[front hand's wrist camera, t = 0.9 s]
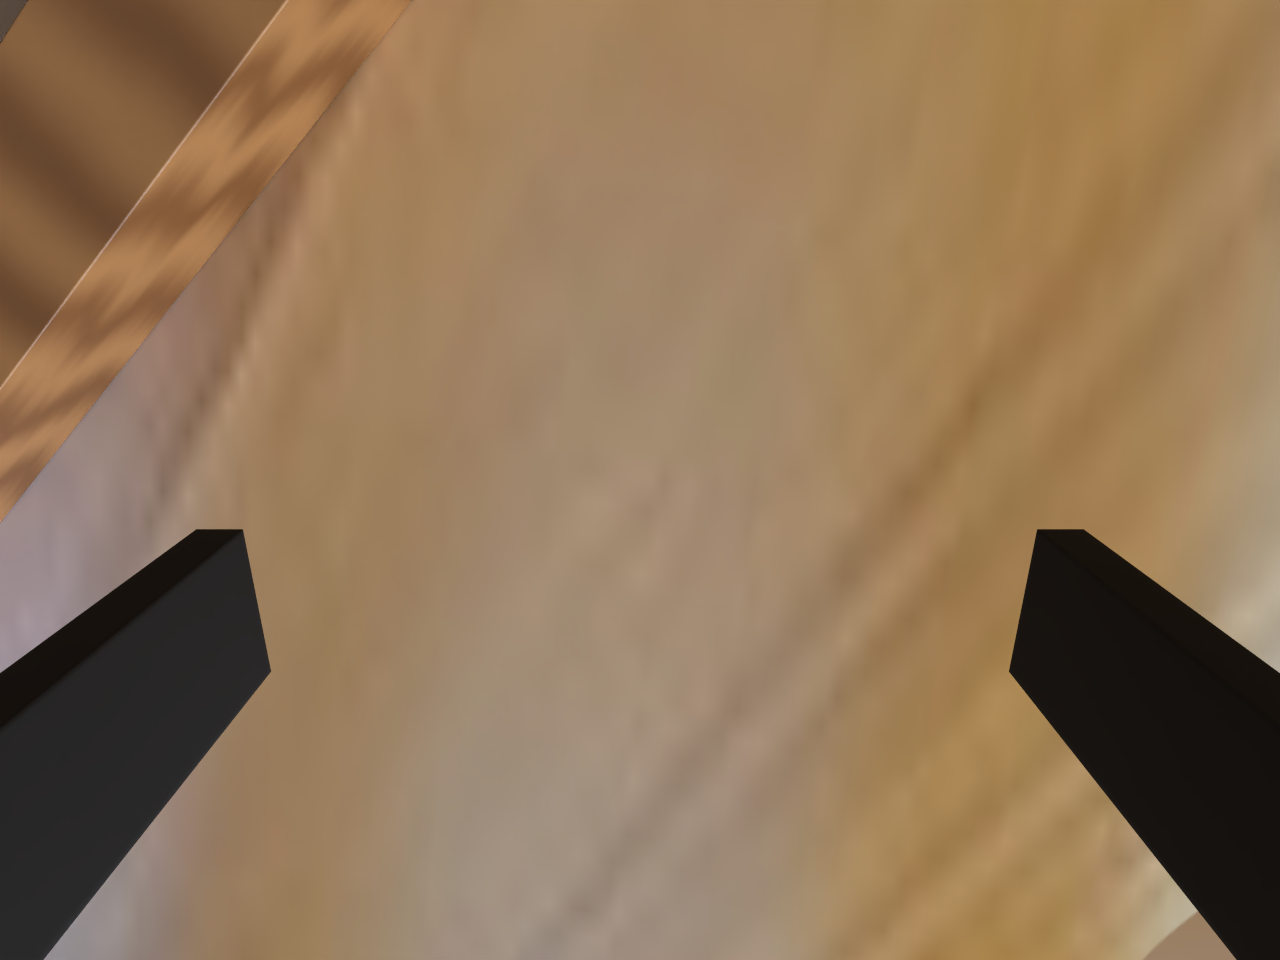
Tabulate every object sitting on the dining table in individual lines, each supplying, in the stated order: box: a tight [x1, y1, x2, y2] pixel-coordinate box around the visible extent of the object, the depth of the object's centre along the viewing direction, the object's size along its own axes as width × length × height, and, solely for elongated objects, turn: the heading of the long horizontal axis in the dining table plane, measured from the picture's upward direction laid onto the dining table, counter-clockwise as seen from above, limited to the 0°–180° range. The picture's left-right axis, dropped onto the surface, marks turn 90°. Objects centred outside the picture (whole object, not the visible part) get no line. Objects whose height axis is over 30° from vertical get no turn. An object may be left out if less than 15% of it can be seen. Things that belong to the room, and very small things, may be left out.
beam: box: [0, 0, 411, 522], centre depth 28 cm, size 67×6×8 cm, turn 135°
